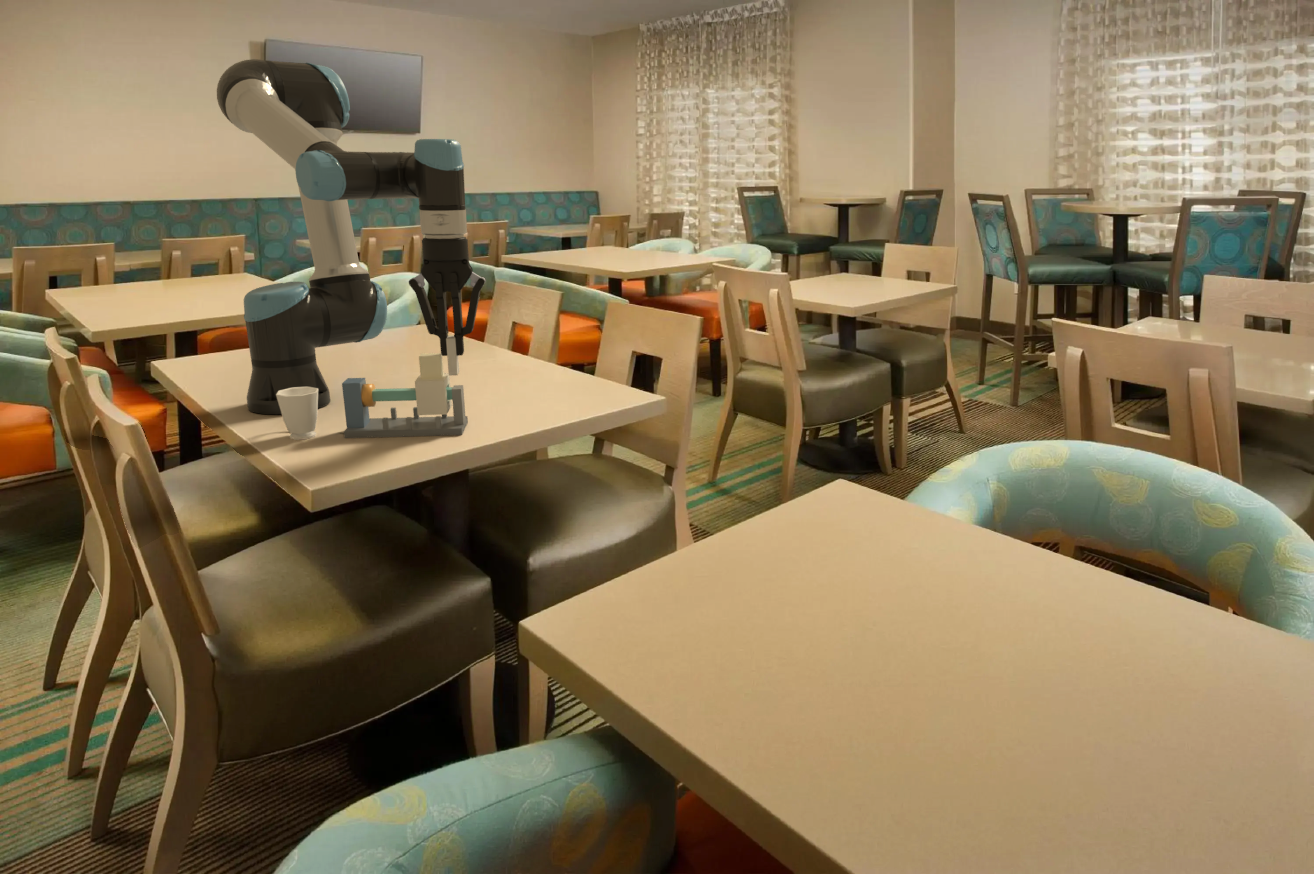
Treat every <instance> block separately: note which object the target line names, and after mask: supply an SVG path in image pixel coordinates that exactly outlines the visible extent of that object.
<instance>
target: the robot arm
mask: <svg viewBox="0 0 1314 874" xmlns="http://www.w3.org/2000/svg"><path fill="white" fill-rule="evenodd" d="M216 101H217V103H218V107H219V109H220V111H221V112H222V114H223V116H224V117H225V118H226V119H227V120H228V121H229V122H230V123H231V124H232V125H234V126H235V127H236V128H238V130H239V131H240V130H241V131H243V132H245V133H249V134H253V135H254V136H255V137H256V138H258V139H259V140H260V141H261V143H263V144H265V146H267V147H268V148H269V149H271V150H272V151H273V152H274V153H275V154H277V155H278V156H279V157H280V158H281V159H282V160H283V161H284V162H286V163H287V164H288V165H289V166H290V167H292V168H293V169H294V171H295V178H296V182H297V186H298V191H299V196H300V200H301V206H302V210H303V211H302V212H303V216H304V221H305V227H306V230H307V231H306V232H307V237H308V241H309V247H310V252H311V256H312V260H313V267H314V271H313V273H312V274H311V276H310V277H309V279H308V282H309V283H308V284H309V286H310V287H309V286H308V285H307V283H306V282H304V281H288V282H279V283H278V282H277V283H272V284H268V285H263V286H261V287H256V288H253V289H252V290H250V291H248V292H246V294H245V295H244V298H243V311H244V314H243V319H244V321H245V322H244V323H245V328H246V333H247V340H248V346H249V347H248V348H249V353H250V360H251V368H252V369H251V374H250V380H249V383H248V389H247V395H246V404H247V410H248V411H250V412H253V413H256V414H261V415H263V414H264V415H282V413H281V410H280V406H279V403H278V400H277V397H276V394H277V392H278V391H279V390H284V389H288V388H292V387H313V388H318V409H319V408H323V407H325V406H327V405H328V404H330V402H331V394H330V389H329V387H328V385H327V383H326V381H325V379H324V376H323V375H322V372H321V371H320V368H319V366H318V364H317V363H318V362H317V357H316V356H317V354H316V348H322V347H331V346H338V345H344V344H351V343H361V342H363V341H368V340H372V339H375V338H377V337H378V336H379V335H380V334H381V333H382V332H383V330H384V327H385V325H386V321H387V317H388V301H387V298H386V294H385V291H383V288H382V286H381V285H380V284H379V283H378V282H375V281H372V280H371V276H370V272H369V271H368V270H366V268H364V267H363V266H362V265H361V264H360V260H359V256H358V249H357V245H356V240H355V239H356V238H355V235H354V228H353V223H352V217H351V213H350V208H349V203H348V201H349V200H387V199H388V200H389V199H391V200H392V199H393V200H394V199H418V205H419V206H418V208H419V221H420V222H419V223H420V233H421V234H422V235H423V236H424V237H423V238H422V239H421V247H422V248H421V249H422V259H423V261H422V262H423V263H422V267H421V270H420V273H419V274H418V275H416V276H415V277H412V278H411V279H409V280H408V285H409V286H410V287H411V289H412V290H413V292H414V293H415V295H416V299H417V301H418V305H419V307H420V311H421V314H422V316H423V320H424V323H425V326H426V328H427V329H426V330H427V333H429V334H430V335H434V336H437V337H438V338H439V346H440V353H441V354H442V357H445V356H446V357H447V368H448V369H447V370H448V372H447V373H449V376H450V377H451V376H452V377H453V376H458V375H459V374H460V361H459V356H463V355H464V353H465V346H464V344H465V343H464V337H465V336H466V335H470V334H471V333H472V332H473V330H474V328H475V327H474V326H475V323H476V322H475V321H476V317H477V310H478V307H479V299H480V295H481V290H482V289H483V287H484V285H485V284H486V281H487V279H486V278H485V277H484V276H480V275H478V274H477V273H475V272H474V269H473V267H472V265H471V264H470V256H469V243H468V242H469V241H468V238H467V237H466V236H464V235H466V234H467V233H468V229H467V228H468V225H467V209H466V193H465V191H466V190H465V171H464V169H465V168H464V167H465V164H464V161H463V154H462V153H463V152H462V145H461V143H460V142H459V141H458V140H456V139H450V138H423V139H422V138H421V139H420V138H419V139H417V140H416V141H415V143H414V152H408V151H407V152H404V151H398V152H397V151H392V152H391V151H390V152H389V151H387V152H386V151H377V152H376V151H346V150H343V149H342V148H341V147H339V146H338V142H339V140H340V139H341V137H342V136H343V135H344V134H343V128H344V127H346V126H347V124H348V122H349V120H350V113H349V111H351V107H350V106H351V105H350V104H351V103H350V99H349V94H348V90H347V89H346V86H345V84H344V82H343V80H342V79H341V76H340V75H339V74H338V73H336V72H335V70H333V69H332V68H330V67H328V66H325V65H319V64H313V63H311V62H290V61H289V62H288V61H280V60H279V61H277V60H264V59H256V58H253V59H246V60H245V59H243V60H241V61H237V62H236V63H234V64H232V65H230V66H229V67H228V68H227V69H226V70H225V71H224V72H223V73H222V74H221V76H220V78H219V80H218V83H217V86H216ZM469 280H470V286H471V287H472V290H471V293H470V300H469V305H468V311H467V315H466V320H465V321H466V322H465V326H464V324H463V308H462V290H463V288H464V286H465V285H466V284H467V282H468V281H469ZM425 281H426V282H427V283H428V284H429V286H430V287H431V288H432V289H433V291H435V299H436V308H437V310H436V311H437V322H438V323H437V322H436V319H435V317H434V313H433V310H432V307H431V304H430V301H429V299H428V294H427V292H426V289H425V285H426V283H425ZM447 292H449V293H450V294H451V295H450V297H451V305H452V307H451V308H452V317H453V331H454V332H453V333H454V334H453V335H449V324H448V323H449V322H448V309H447V298H446V297H447ZM437 324H438V326H437Z"/></svg>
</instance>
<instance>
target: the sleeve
mask: <svg viewBox="0 0 1314 874" xmlns="http://www.w3.org/2000/svg"><path fill="white" fill-rule="evenodd" d="M443 357H444V356H442V354H441V352H437V353H436V352H434V353H433V352H432V353H431V352H429V353H425V352H424V353H423V352H422V353H420V354H419V356H418V363H419V376H418V377H417V378H416V379H415V380H414V386H415V387H414V388H415V390H416V400H415V401H416V407H417V413H418V415H419V416H432V415H434V416H435V415H436V416H442V415H443V414H447V415H448V413H449V411H450V410H451V408H452V407H453V400H447V390H446V387H451V378H450V377H451V376H449V372H446V373H445V372H444V361H443V360H444V359H443Z"/></svg>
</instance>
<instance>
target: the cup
mask: <svg viewBox="0 0 1314 874" xmlns="http://www.w3.org/2000/svg"><path fill="white" fill-rule="evenodd" d="M276 397H277V400H278V403H279V406H280V410H281V413H282V414H281V416H282V420H283V422H284V424H285V427H286V429H287V432H288V433H289V434H290V435H289V439H291V440H295V441H300V440H308V439H312V438H315V437H316V436H317V431H315V430H316V428H317V422H318V421H317V420H318V413H319V412H318V409H319V408H318V388H313V387H292V388H288V389H284V390H279V391H278V392H277V394H276Z"/></svg>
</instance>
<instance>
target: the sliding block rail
mask: <svg viewBox="0 0 1314 874" xmlns="http://www.w3.org/2000/svg"><path fill="white" fill-rule="evenodd" d="M366 381H367V380H366V377H348V378H346V379H345V380H344V381H343V382H341V386H342V397H343V398H342V399H343V405H344V415H345V423H346V429H344V431H343V437H344V439H354V438H355V439H356V438H357V439H358V438H359V439H361V438H392V437H393V438H395V437H396V438H397V437H400V438H401V437H402V438H403V437H428V436H429V437H430V436H431V437H432V436H433V437H434V436H462V435H463V434H464V432H465V431H466V427H467V425H468V422H469V419H468V416H467V415H466V406H465V392H464V391H465V390H464V389H465V388H464V385H463V384H455V385H453V386H452V387H451V386H450V387H446V390H447V400H451V401H452V410H453V412H452V413H453V415H452V416H450V415H449V416H448V413H447V414H443V415H436V416H420V415H418V413H417V406H414V407H412V412H413V417H412V416H406V417H398V415H397V407H396V406H395V407H394V406H393V407H390V417H380V418H379V417H377V418H375V417H374V418H373V417H372V418H370V411H369V410H370V409H369V407H371V408H372V407H374V408H375V406H376V404H377V402H406V401H408V402H409V401H416V390H415V387H409V388H408V387H405V388H402V387H401V388H397V387H396V388H376V385H375V384H374V383H367V382H366Z"/></svg>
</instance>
